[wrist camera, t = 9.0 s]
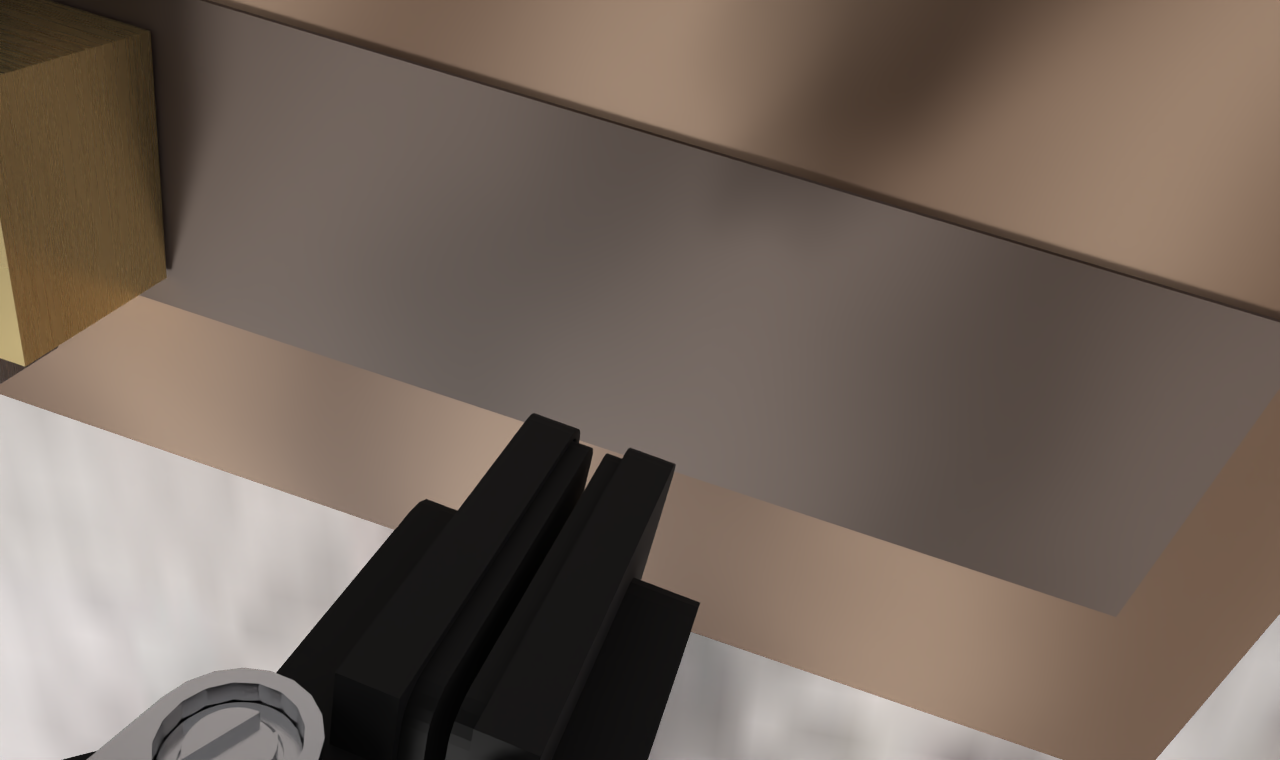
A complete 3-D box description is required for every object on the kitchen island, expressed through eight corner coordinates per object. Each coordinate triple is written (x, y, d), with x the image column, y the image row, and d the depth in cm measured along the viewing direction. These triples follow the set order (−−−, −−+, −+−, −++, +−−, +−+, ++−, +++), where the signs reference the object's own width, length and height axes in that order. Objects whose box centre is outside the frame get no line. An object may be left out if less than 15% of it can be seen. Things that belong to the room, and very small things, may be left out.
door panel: (1616, 79, 11) (1712, 116, 10) (1118, 715, 18) (1135, 789, 16) (-425, -470, 14) (-571, -500, 12) (-200, 269, 20) (-279, 302, 19)
